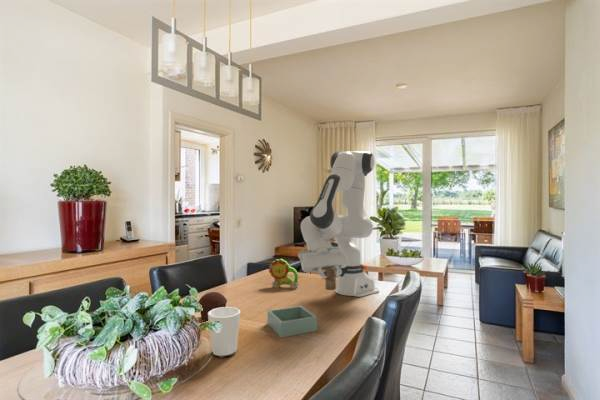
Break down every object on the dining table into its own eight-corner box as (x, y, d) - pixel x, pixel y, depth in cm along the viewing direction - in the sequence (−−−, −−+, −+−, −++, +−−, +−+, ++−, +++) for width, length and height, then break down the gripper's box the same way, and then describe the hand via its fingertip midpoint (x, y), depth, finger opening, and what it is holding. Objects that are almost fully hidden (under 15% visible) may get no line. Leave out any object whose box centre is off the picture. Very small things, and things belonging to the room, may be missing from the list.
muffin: (193, 317, 133) (193, 292, 133) (219, 311, 140) (219, 287, 140) (204, 325, 124) (204, 299, 124) (232, 319, 131) (231, 294, 131)
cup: (224, 363, 95) (224, 319, 95) (200, 355, 101) (200, 313, 101) (247, 350, 104) (247, 310, 104) (224, 343, 109) (224, 304, 109)
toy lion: (299, 286, 179) (299, 258, 179) (296, 289, 174) (296, 260, 174) (271, 285, 183) (271, 257, 183) (268, 287, 177) (268, 259, 177)
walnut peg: (332, 286, 133) (332, 267, 133) (337, 289, 130) (337, 268, 130) (323, 288, 132) (323, 268, 132) (328, 290, 128) (328, 270, 128)
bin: (300, 318, 132) (300, 305, 132) (317, 330, 119) (317, 316, 119) (267, 323, 126) (267, 310, 126) (281, 337, 113) (280, 323, 113)
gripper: (298, 247, 133) (310, 276, 124) (342, 243, 141) (355, 270, 132) (294, 256, 137) (305, 285, 128) (337, 251, 145) (349, 279, 136)
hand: (331, 277), depth 130 cm, fingers closed on walnut peg, 4 cm apart
